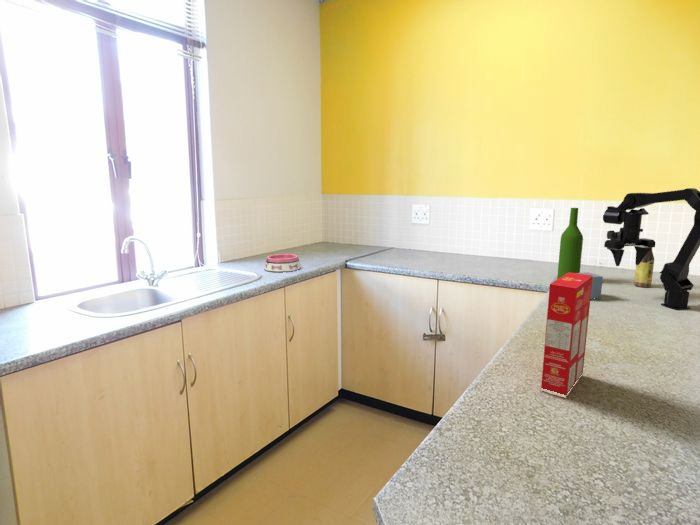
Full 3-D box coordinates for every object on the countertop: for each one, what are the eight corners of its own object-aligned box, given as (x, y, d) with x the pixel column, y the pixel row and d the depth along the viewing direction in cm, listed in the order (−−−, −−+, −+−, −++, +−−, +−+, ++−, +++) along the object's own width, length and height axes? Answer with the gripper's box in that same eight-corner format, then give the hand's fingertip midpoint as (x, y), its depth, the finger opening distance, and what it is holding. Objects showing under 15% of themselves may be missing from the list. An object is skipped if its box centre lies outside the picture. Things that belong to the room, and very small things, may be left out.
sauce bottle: (650, 288, 191) (656, 241, 187) (632, 286, 195) (638, 240, 191) (651, 285, 196) (657, 239, 192) (634, 283, 200) (640, 238, 196)
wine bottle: (582, 283, 201) (590, 208, 194) (562, 283, 201) (568, 208, 194) (573, 278, 209) (580, 207, 203) (553, 278, 210) (559, 207, 203)
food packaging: (559, 369, 114) (568, 272, 109) (582, 375, 111) (592, 275, 106) (540, 391, 103) (549, 284, 98) (565, 398, 100) (576, 288, 95)
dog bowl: (262, 267, 239) (261, 254, 238) (296, 264, 245) (296, 252, 244) (267, 274, 222) (266, 260, 221) (304, 271, 228) (304, 258, 227)
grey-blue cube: (600, 298, 177) (602, 276, 175) (583, 300, 175) (586, 277, 173) (585, 293, 184) (587, 272, 182) (569, 295, 182) (571, 273, 180)
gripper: (634, 222, 186) (630, 260, 189) (595, 224, 182) (591, 262, 185) (658, 225, 175) (653, 265, 178) (617, 227, 171) (613, 268, 174)
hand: (627, 265), depth 179 cm, fingers open, 9 cm apart
